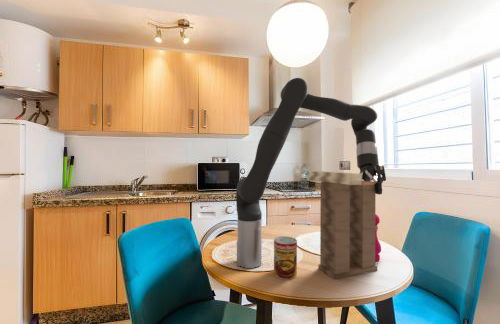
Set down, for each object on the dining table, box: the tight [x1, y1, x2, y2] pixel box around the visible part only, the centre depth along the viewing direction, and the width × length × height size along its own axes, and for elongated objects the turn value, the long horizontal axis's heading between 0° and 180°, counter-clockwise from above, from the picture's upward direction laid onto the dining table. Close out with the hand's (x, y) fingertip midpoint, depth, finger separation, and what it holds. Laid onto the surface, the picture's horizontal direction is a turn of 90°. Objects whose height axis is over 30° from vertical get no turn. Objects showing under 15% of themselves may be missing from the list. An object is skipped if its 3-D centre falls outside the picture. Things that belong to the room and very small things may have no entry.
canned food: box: [273, 235, 298, 280], centre depth 86 cm, size 8×8×12 cm
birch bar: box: [306, 170, 361, 185], centre depth 89 cm, size 24×4×4 cm, turn 22°
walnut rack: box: [317, 180, 378, 280], centre depth 90 cm, size 9×19×32 cm, turn 112°
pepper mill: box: [375, 213, 382, 262], centre depth 100 cm, size 7×7×20 cm
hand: (370, 196), depth 92 cm, fingers open, 8 cm apart
